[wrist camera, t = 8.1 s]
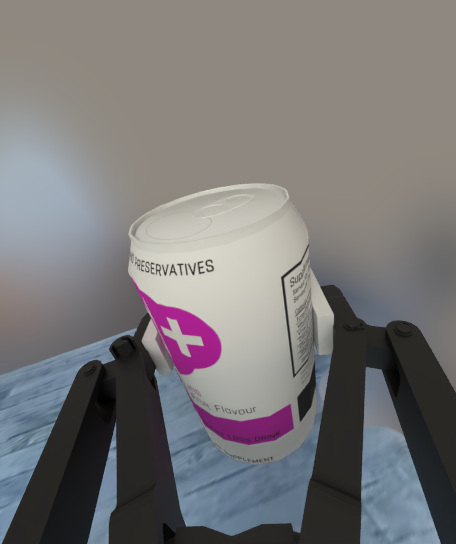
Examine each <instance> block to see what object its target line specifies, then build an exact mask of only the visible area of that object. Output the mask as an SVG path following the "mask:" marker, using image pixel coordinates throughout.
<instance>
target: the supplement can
mask: <svg viewBox="0 0 456 544" xmlns="http://www.w3.org/2000/svg"><path fill="white" fill-rule="evenodd" d="M128 235H129V237H130V239H131V249H130V259H129V268H128V272H129V274H130V276H131V278H132V280H133V282H134V284H135V286H136V289H137V290H138V292H139V295H140V297H141V299H142V301H143V303H144V305H145V307H146V309H147V311H148V313H149V315H150V317H151V319H152V321H153V323H154V326H155V328H156V330H157V332H158V334H159V336H160V338H161V340H162V342H163V344H164V346H165V348H166V350H167V352H168V354H169V356H170V358H171V360H172V362H173V365H174V367H175V369H176V371H177V373H178V375H179V377H180V379H181V381H182V383H183V385H184V387H185V389H186V391H187V393H188V395H189V397H190V399H191V401H192V403H193V406H194V408H195V410H196V412H197V414H198V416H199V418H200V420H201V422H202V424H203V426H204V428H205V430H206V431H207V433H208V435H209V437H210V438H211V440H212V442H213V444H214V445H215V446H216V447H217V448H218V449H220V450H221V451H222V452H224V453H225V454H226V455H228V456H229V457H230V458H232V459H234V460H238V461H242V462H246V463H250V464H254V465H258V464H264V463H270V462H276V461H280V460H282V459H283V458H285V457H286V456H288V455H289V454H291V453H292V452H294V451H296V450H297V449H299V448H300V447H301V445H302V444H303V442H304V441H305V439H306V438H307V436H308V435H309V433H310V432H311V430H312V429H313V425H314V420H315V415H316V410H317V398H316V378H315V359H314V339H313V319H312V300H311V280H310V263H309V243H308V242H309V241H308V231H307V228H306V226H305V223H304V220H303V219H302V217H301V216H300V214H299V213H298V211H297V210H296V208H295V207H294V206H293V204H292V203H291V201H290V199H289V195H288V192H287V189H284V188H282V187H279V186H277V185H272V184H262V183H255V184H239V185H232V186H225V187H219V188H215V189H210V190H206V191H202V192H198V193H194V194H191V195H188V196H186V197H182V198H179V199H176V200H173V201H171V202H168V203H166V204H164V205H161V206H159V207H157V208H155V209H153V210H151V211H150V212H148V213H146V214H144V215H143V216H141V217H140V218H139V219H138V220H137V221H136V222H134V223H133V224H132V225H131V228H130V231H129V233H128Z"/></svg>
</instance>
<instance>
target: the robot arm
mask: <svg viewBox="0 0 456 544" xmlns="http://www.w3.org/2000/svg"><path fill="white" fill-rule="evenodd" d="M310 280H311V300H312V319H313V339H314V343H315V346H316V349H317V351H318V354H319V355H327V354H332V358H331V364H330V370H329V376H328V382H327V388H326V395H325V400H324V406H323V413H322V419H321V425H320V431H319V437H318V443H317V449H316V455H315V461H314V468H313V473H312V477H311V479H310V482H309V486H308V491H307V497H306V503H305V509H304V515H303V521H302V527H301V533H297V532H294V531H293V529H292V524H291V523H287V524H261V525H259V526H257V527H254V528H252V529H249V530H247V531H244V532H242V533H240V534H237V535H234V536H229V535H226V534H224V533H221V532H218V531H215V530H213V529H210V528H207V527H204V526H192V527H186V525H185V522H184V520H183V517H182V514H181V510H180V506H179V500H178V495H177V489H176V484H175V478H174V473H173V467H172V462H171V457H170V451H169V446H168V440H167V435H166V429H165V424H164V418H163V413H162V407H161V402H160V396H159V391H158V385H157V380H156V377H155V375H154V372H155V369H157V371H158V372H159V374H164V373H172V370H173V366H174V365H173V362H172V360H171V358H170V356H169V354H168V352H167V350H166V348H165V346H164V344H163V342H162V340H161V338H160V336H159V334H158V332H157V330H156V328H155V326H154V323H153V321H152V319H151V317H150V315H149V313H147V314H146V315H145V316H144V317H143V318H142V320H141V322H140V324H139V326H138V328H137V331H136V332H135V335H134V337H132V336H130V335H125V336H122V337H120V338H118V339H116V340H115V341H114V342H113V343H112V344H111V346H110V348H109V350H110V352H111V353H112V355H113V357H114V358H115V360H114V361H111V362H108V363H106V364H102V363H101V361H99V360H93V361H90V362H88V363H87V364H85V365H84V366H83V367H82V368H81V369H80V370H79V371H78V373H77V375H76V377H75V379H74V382H73V384H72V386H71V388H70V391H69V393H68V395H67V397H66V400H65V402H64V404H63V407H62V409H61V411H60V413H59V416H58V418H57V420H56V422H55V425H54V427H53V429H52V431H51V434H50V436H49V438H48V441H47V443H46V445H45V447H44V450H43V452H42V454H41V456H40V459H39V461H38V463H37V465H36V468H35V470H34V472H33V475H32V477H31V479H30V481H29V484H28V486H27V488H26V490H25V493H24V495H23V497H22V499H21V502H20V504H19V506H18V509H17V511H16V513H15V515H14V518H13V520H12V522H11V524H10V527H9V529H8V531H7V533H6V536H5V538H4V540H3V543H2V544H87V542H88V538H89V534H90V530H91V525H92V521H93V517H94V512H95V508H96V504H97V500H98V495H99V491H100V487H101V483H102V478H103V474H104V470H105V466H106V461H107V457H108V453H109V449H110V444H111V440H112V436H113V432H114V427H115V423H116V445H117V506H116V509H115V510H114V511H113V512H112V513H111V516H110V521H109V544H360V530H361V477H362V450H363V424H364V423H363V422H364V395H365V370H366V369H365V368H366V367H370V368H377V369H382V372H383V375H384V377H385V381H386V383H387V386H388V389H389V392H390V395H391V398H392V401H393V404H394V407H395V410H396V413H397V416H398V419H399V422H400V425H401V428H402V430H403V433H404V436H405V439H406V442H407V445H408V448H409V451H410V454H411V457H412V460H413V463H414V466H415V469H416V472H417V475H418V478H419V481H420V483H421V486H422V489H423V492H424V495H425V498H426V501H427V504H428V507H429V510H430V513H431V516H432V519H433V522H434V525H435V528H436V530H437V533H438V536H439V539H440V542H441V544H456V392H455V391H454V389H453V387H452V386H451V384H450V382H449V380H448V378H447V376H446V375H445V373H444V371H443V369H442V368H441V366H440V364H439V362H438V361H437V359H436V357H435V355H434V354H433V352H432V350H431V348H430V347H429V345H428V343H427V341H426V340H425V338H424V336H423V334H422V333H421V331H420V330H419V329H418V327H417V326H415V325H413V324H412V323H409V322H406V321H399V320H398V321H392V322H390V323H388V325H387V326H386V328H385V327H375V326H370V325H367V324H366V323H365V322H364V321H363V320H361V319H359V318H357V317H356V316H355V314H354V312H353V311H352V309H351V307H350V306H349V304H348V302H347V301H346V299H345V297H344V296H343V294H342V292H341V291H340V289H338V288H337V287H336V286H334V285H329V286H322V287H320V286H319V284H318V282H317V280H316V278H315V276H314V274H313V272H312V270H311V268H310Z"/></svg>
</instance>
